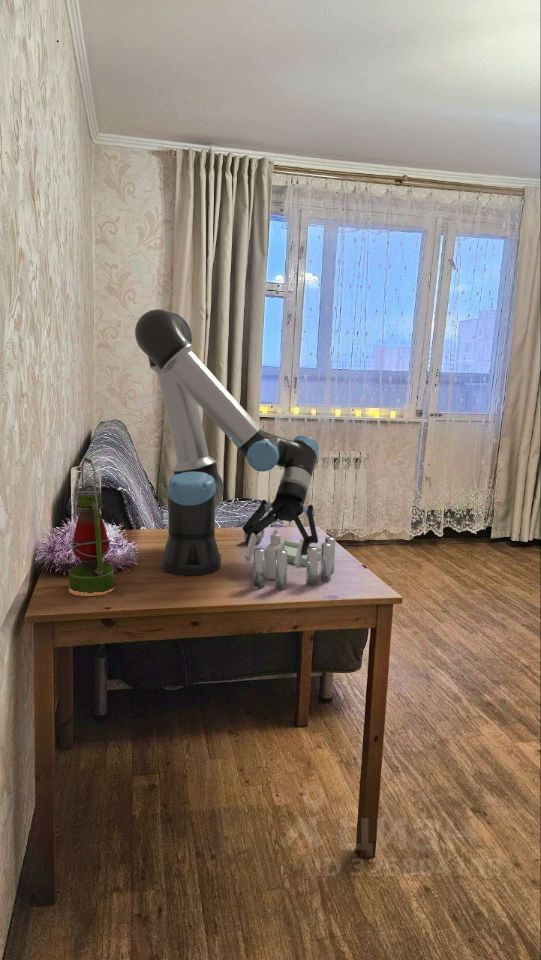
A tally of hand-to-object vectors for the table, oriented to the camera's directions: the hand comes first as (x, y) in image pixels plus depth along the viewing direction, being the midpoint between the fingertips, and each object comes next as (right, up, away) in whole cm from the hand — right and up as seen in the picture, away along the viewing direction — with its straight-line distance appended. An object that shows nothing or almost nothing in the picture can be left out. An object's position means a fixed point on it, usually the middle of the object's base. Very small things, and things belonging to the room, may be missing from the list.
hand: (271, 562), depth 153 cm
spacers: (+7, -4, +1) cm, 8 cm away
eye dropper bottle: (+1, -4, +3) cm, 5 cm away
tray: (+6, -1, +20) cm, 21 cm away
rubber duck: (-5, +1, +31) cm, 32 cm away
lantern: (-41, -5, -8) cm, 42 cm away
